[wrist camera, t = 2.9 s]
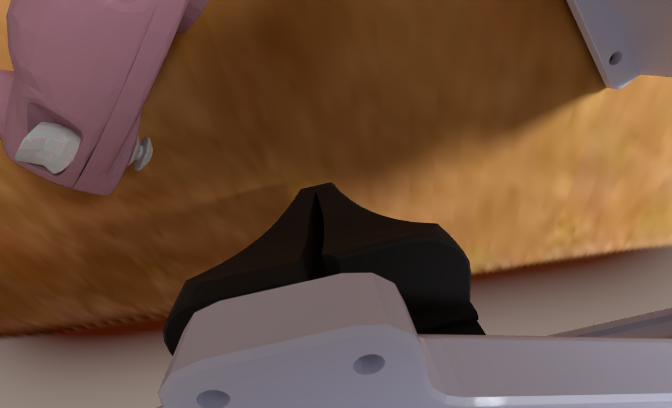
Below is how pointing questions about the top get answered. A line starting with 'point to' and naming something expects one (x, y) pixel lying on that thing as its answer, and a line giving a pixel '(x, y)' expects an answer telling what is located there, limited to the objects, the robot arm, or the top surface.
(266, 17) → the top surface
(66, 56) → the video game controller
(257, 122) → the top surface
